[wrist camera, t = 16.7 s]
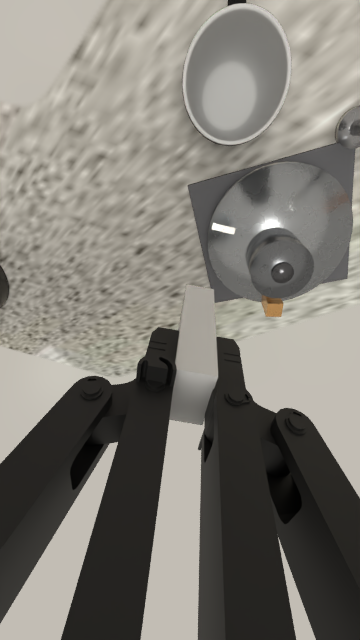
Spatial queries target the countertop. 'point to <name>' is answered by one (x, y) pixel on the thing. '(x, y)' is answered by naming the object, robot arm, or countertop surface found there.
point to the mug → (236, 73)
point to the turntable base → (212, 190)
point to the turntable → (280, 224)
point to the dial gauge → (349, 129)
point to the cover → (278, 263)
